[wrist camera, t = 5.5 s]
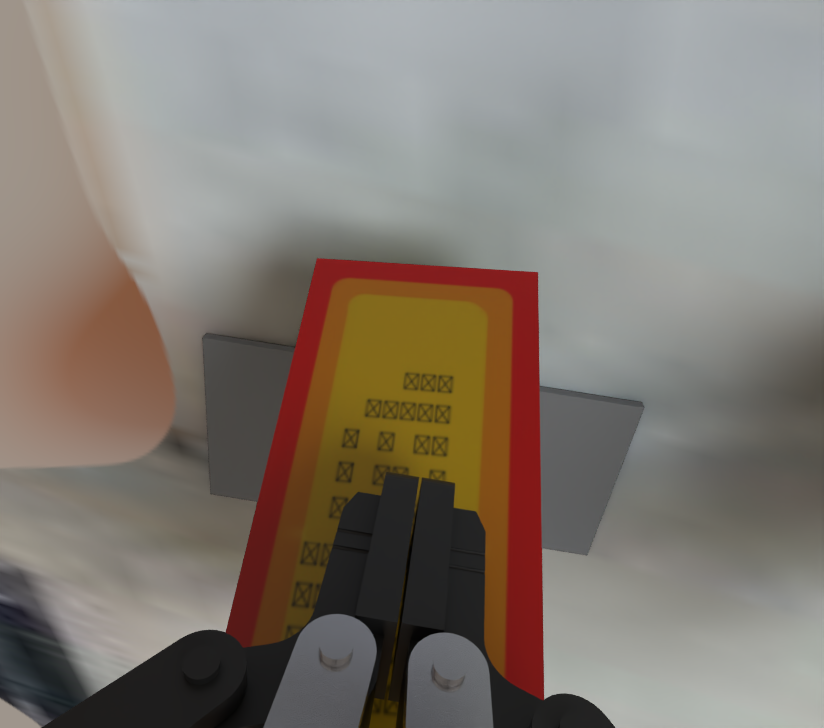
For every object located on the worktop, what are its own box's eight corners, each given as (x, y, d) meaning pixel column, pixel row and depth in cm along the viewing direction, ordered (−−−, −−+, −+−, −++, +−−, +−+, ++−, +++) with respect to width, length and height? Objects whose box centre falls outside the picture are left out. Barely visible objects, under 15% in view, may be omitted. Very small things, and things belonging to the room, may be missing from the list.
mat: (206, 333, 26) (202, 337, 25) (642, 402, 25) (644, 407, 25) (213, 488, 30) (210, 494, 30) (585, 549, 30) (587, 555, 29)
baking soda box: (317, 258, 19) (134, 1004, 10) (537, 272, 18) (549, 1065, 10) (348, 412, 27) (262, 903, 18) (503, 424, 26) (492, 934, 17)
